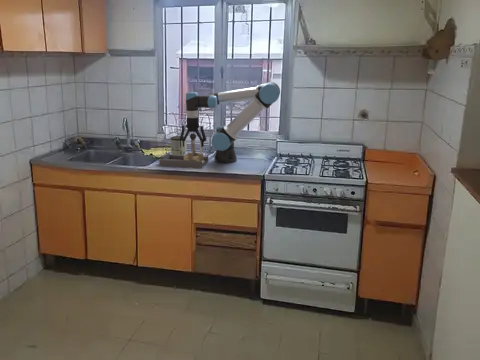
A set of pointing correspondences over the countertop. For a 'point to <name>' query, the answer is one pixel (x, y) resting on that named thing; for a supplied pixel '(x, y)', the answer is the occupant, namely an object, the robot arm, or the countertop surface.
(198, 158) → the wooden peg stand
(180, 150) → the coffee can
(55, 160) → the countertop surface
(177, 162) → the tray
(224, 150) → the robot arm
